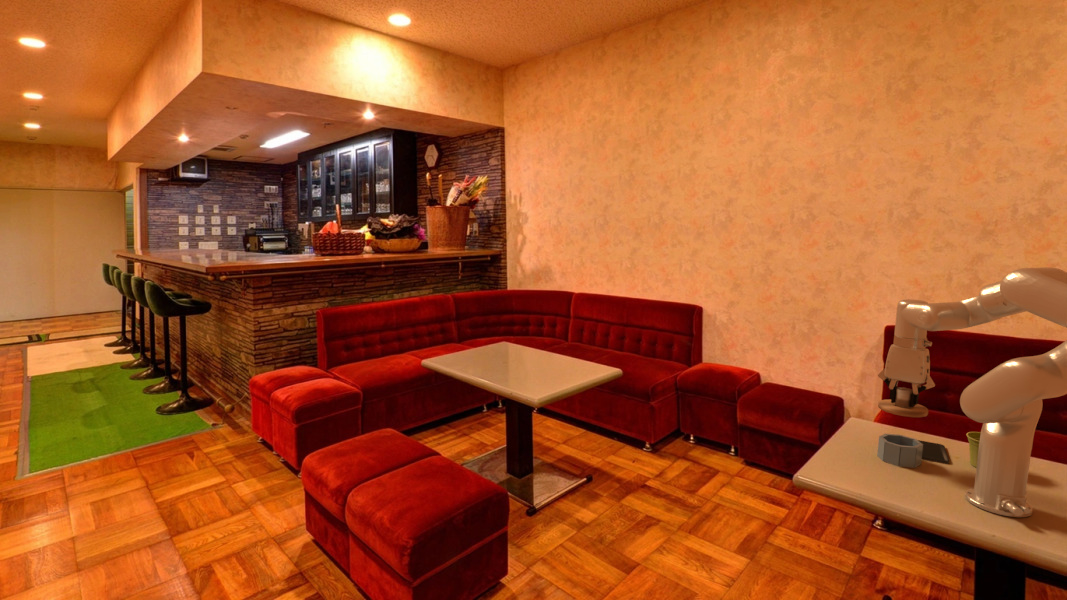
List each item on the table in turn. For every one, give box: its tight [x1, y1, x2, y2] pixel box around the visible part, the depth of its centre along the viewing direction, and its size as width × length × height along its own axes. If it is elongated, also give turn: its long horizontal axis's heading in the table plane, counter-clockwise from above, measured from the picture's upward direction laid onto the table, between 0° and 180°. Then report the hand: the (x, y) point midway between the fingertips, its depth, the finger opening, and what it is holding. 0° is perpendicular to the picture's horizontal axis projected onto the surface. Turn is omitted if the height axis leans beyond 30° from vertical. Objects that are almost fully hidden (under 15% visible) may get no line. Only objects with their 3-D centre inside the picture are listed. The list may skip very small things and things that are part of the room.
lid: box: [877, 386, 929, 418], centre depth 155 cm, size 12×12×6 cm
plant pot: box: [965, 431, 981, 468], centre depth 153 cm, size 9×9×9 cm
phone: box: [917, 439, 950, 465], centre depth 163 cm, size 8×1×15 cm
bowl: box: [877, 433, 923, 469], centre depth 158 cm, size 10×10×6 cm
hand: (903, 403), depth 155 cm, fingers closed on lid, 4 cm apart
